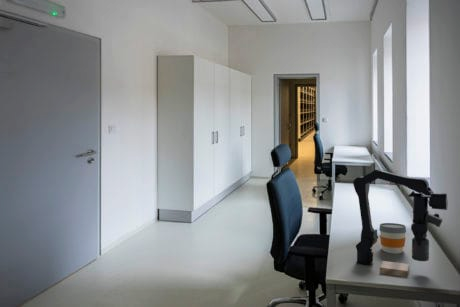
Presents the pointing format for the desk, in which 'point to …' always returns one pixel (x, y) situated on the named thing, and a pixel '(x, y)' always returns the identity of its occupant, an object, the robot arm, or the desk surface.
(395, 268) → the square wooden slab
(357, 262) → the robot arm
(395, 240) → the reusable coffee cup
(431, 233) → the desk surface
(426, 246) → the supplement bottle
